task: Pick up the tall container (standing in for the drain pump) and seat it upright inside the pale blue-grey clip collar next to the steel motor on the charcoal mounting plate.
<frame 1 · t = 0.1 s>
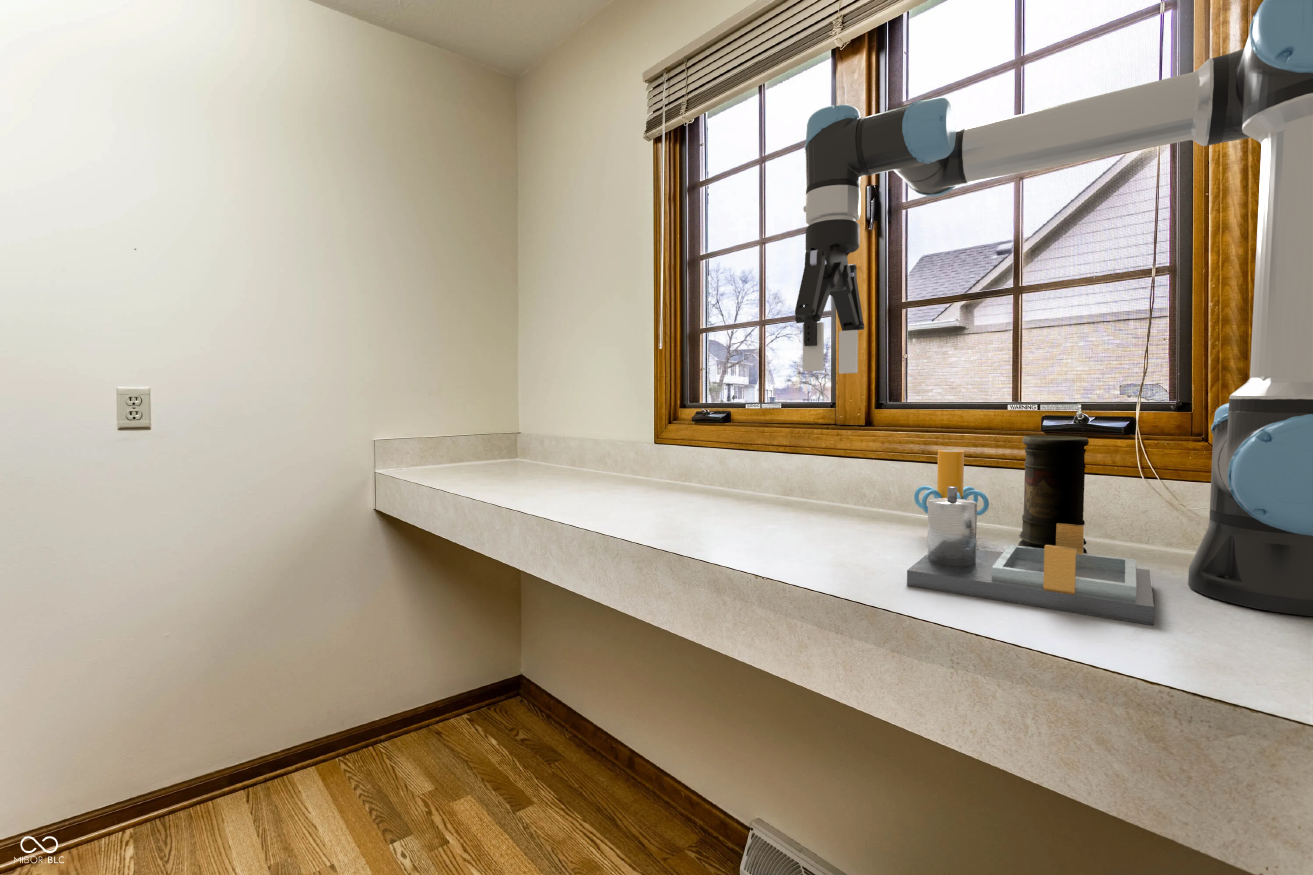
hand: (831, 372, 92), 28 cm above the table, tool pointing down, fingers open, 13 cm apart
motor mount: (1026, 585, 81), on the table
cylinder: (949, 539, 107), on the table
container: (1051, 555, 96), on the table
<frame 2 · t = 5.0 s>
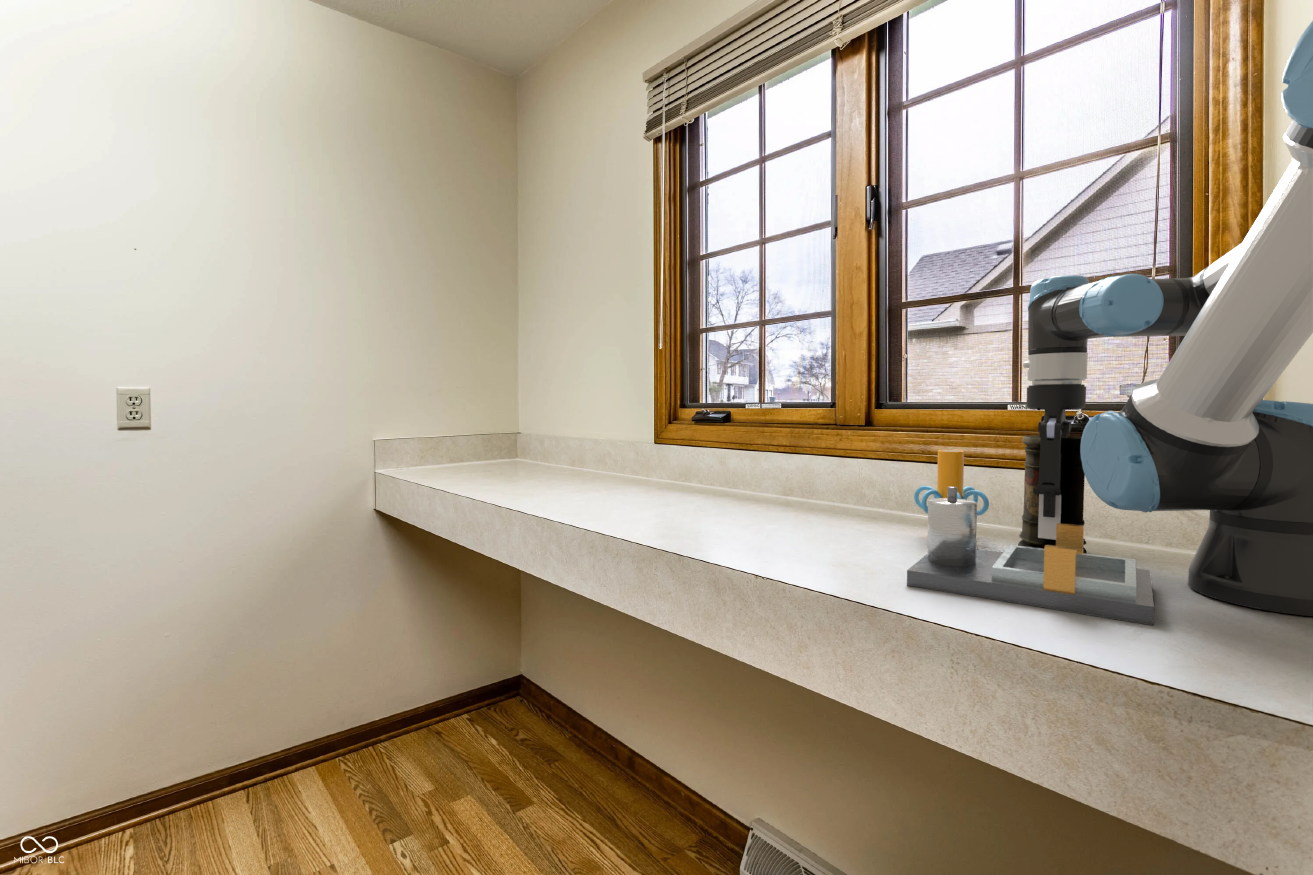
hand: (1051, 532, 96), 3 cm above the table, tool pointing down, fingers closed on container, 8 cm apart
container: (1051, 555, 96), on the table, touching gripper
everything else where it was.
when the fingers open (6 cm above the table, at t = 11.7 s): container stays where it is, resting on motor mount.
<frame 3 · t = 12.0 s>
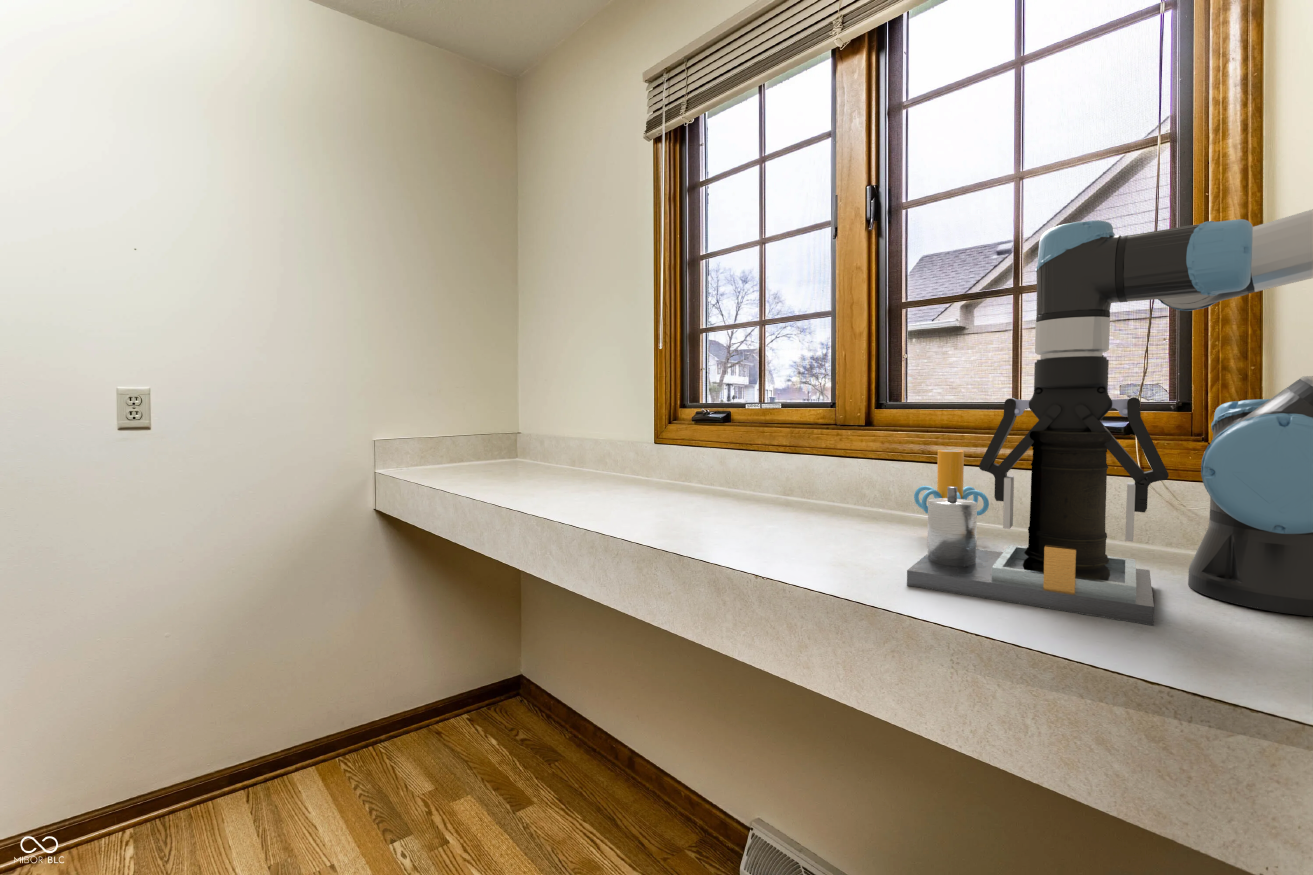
hand: (1065, 532, 78), 7 cm above the table, tool pointing down, fingers open, 12 cm apart
container: (1064, 576, 78), point 2 cm above the table, touching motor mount
everything else where it was.
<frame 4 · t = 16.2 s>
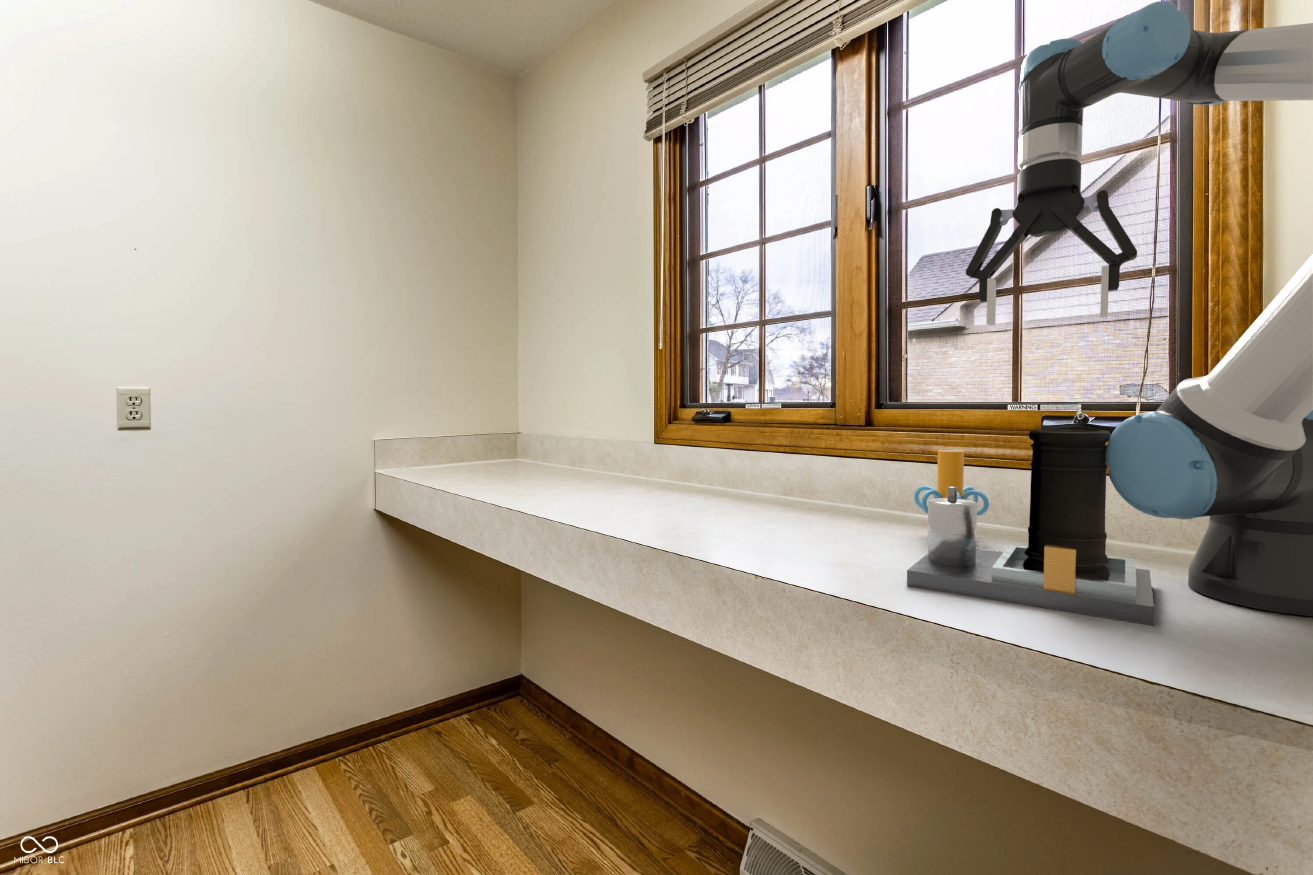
hand: (1044, 320, 89), 35 cm above the table, tool pointing down, fingers open, 13 cm apart
container: (1064, 576, 78), point 2 cm above the table, touching arm, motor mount
everything else where it was.
at the end: container 0.0 cm from the target spot on the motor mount, point 1.8 cm above the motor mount's base; container tilted 0°; the gripper is holding nothing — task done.
